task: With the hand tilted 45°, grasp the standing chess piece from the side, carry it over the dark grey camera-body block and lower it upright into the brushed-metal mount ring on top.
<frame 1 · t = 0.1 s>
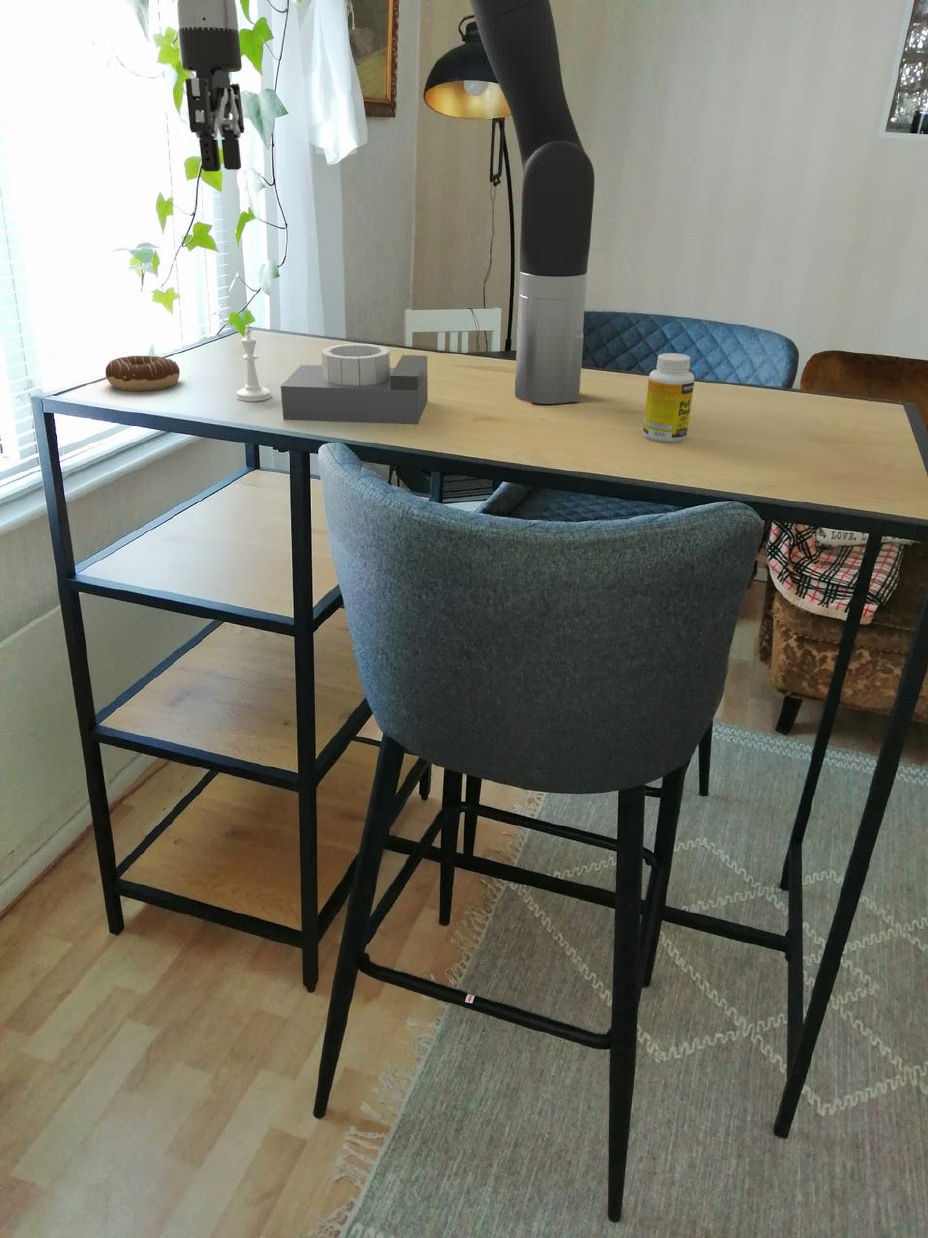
hand: (222, 170, 124), 29 cm above the table, tool pointing down, fingers open, 8 cm apart
camera body: (358, 409, 128), on the table
donut: (145, 386, 139), on the table
supplement bottle: (664, 438, 119), on the table
chess piece: (254, 398, 134), on the table
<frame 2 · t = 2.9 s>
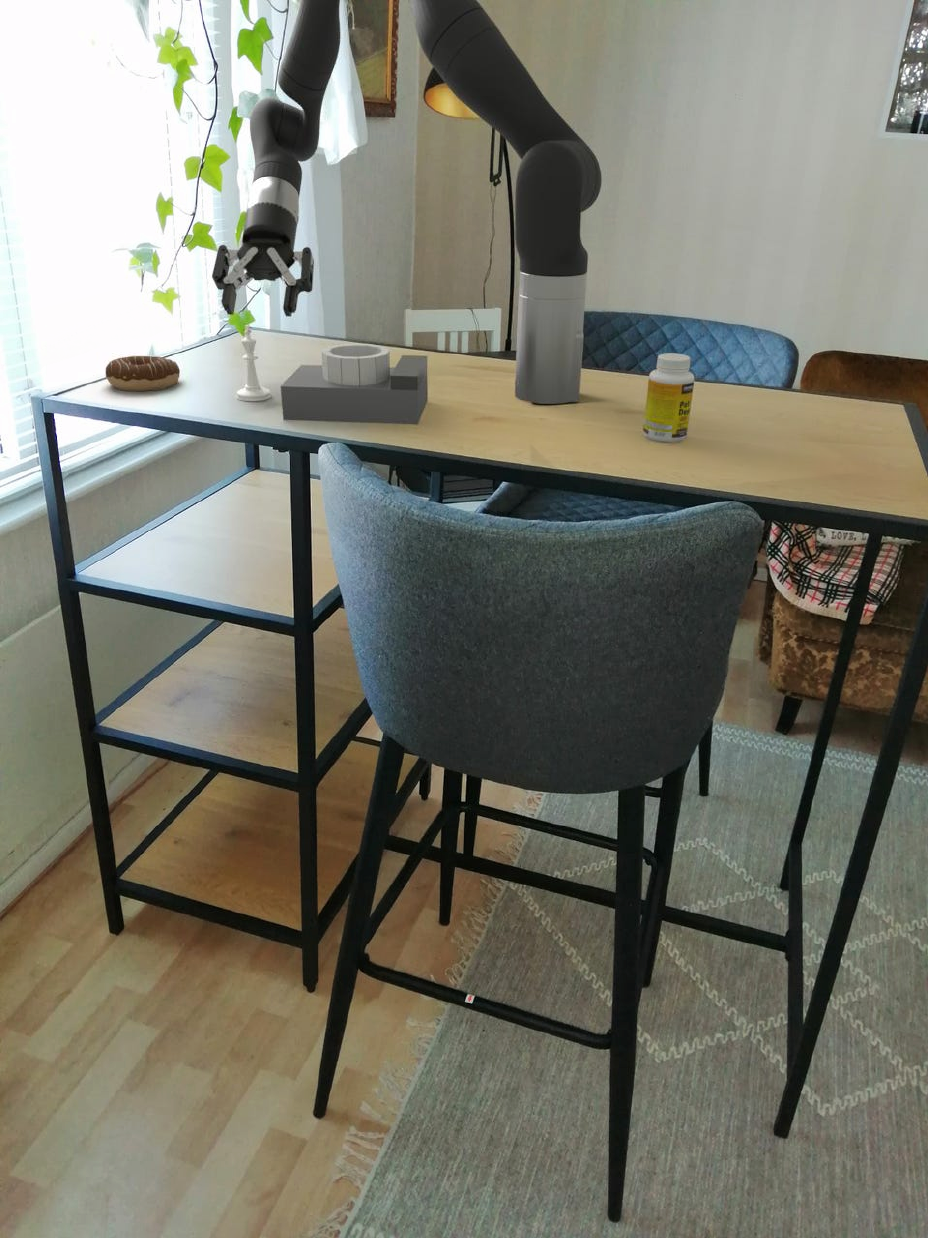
hand: (258, 312, 134), 11 cm above the table, tool tilted 45°, fingers open, 8 cm apart
nothing on the table moved.
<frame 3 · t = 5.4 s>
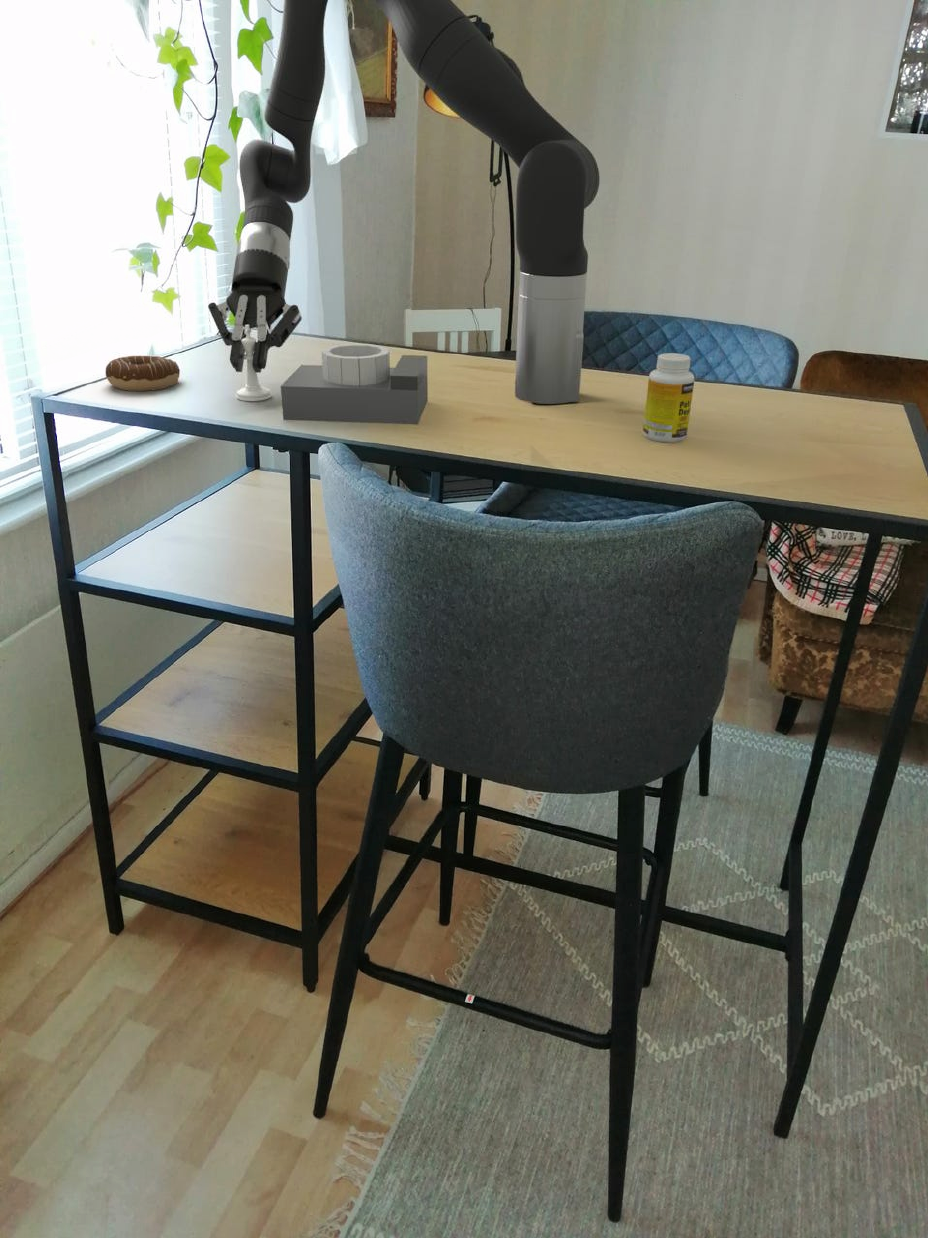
hand: (247, 368, 130), 4 cm above the table, tool tilted 45°, fingers closed on chess piece
chess piece: (254, 397, 134), on the table, touching gripper
everything else where it was.
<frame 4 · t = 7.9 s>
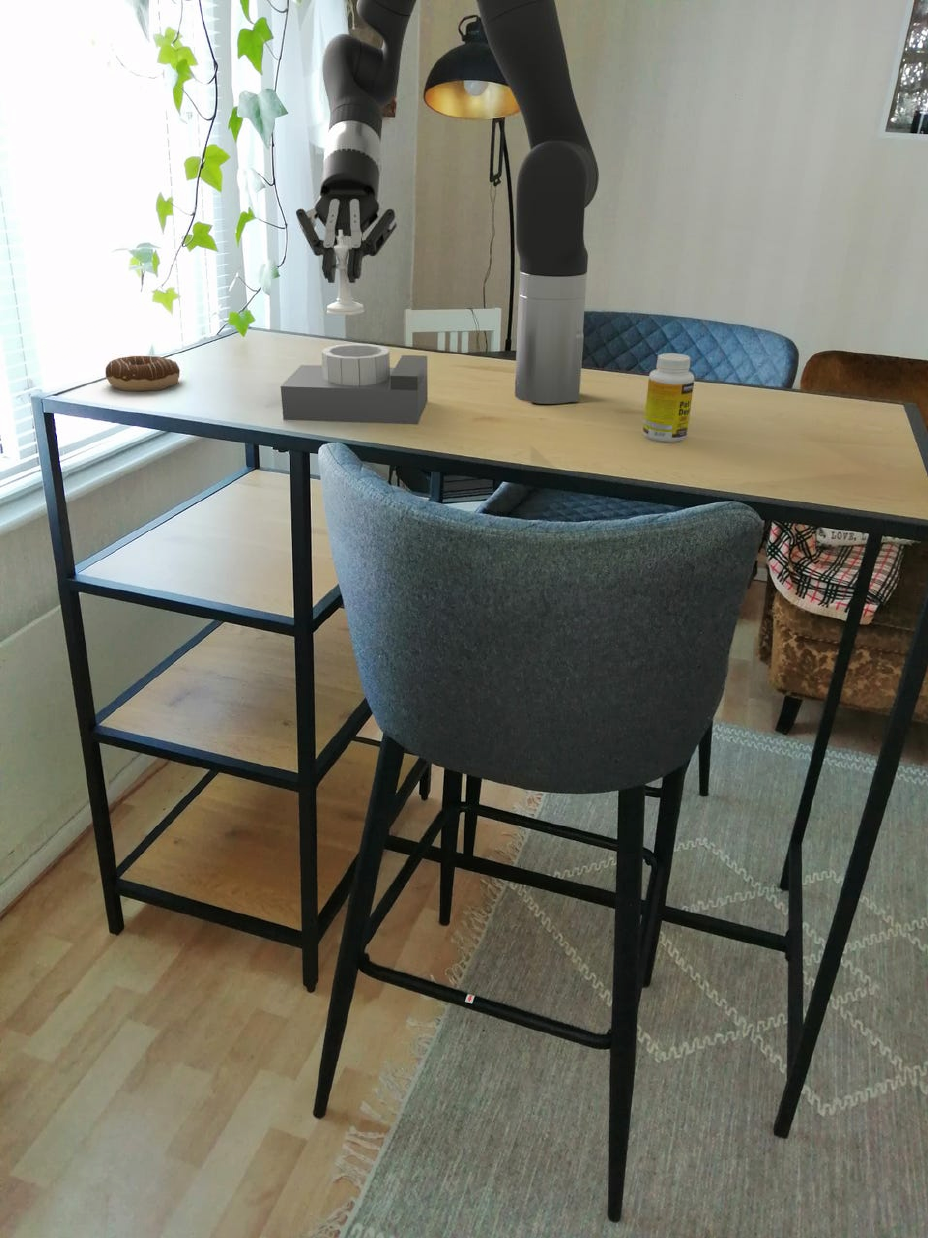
hand: (340, 278, 119), 17 cm above the table, tool tilted 45°, fingers closed on chess piece
chess piece: (345, 313, 123), point 13 cm above the table, touching gripper
everything else where it was.
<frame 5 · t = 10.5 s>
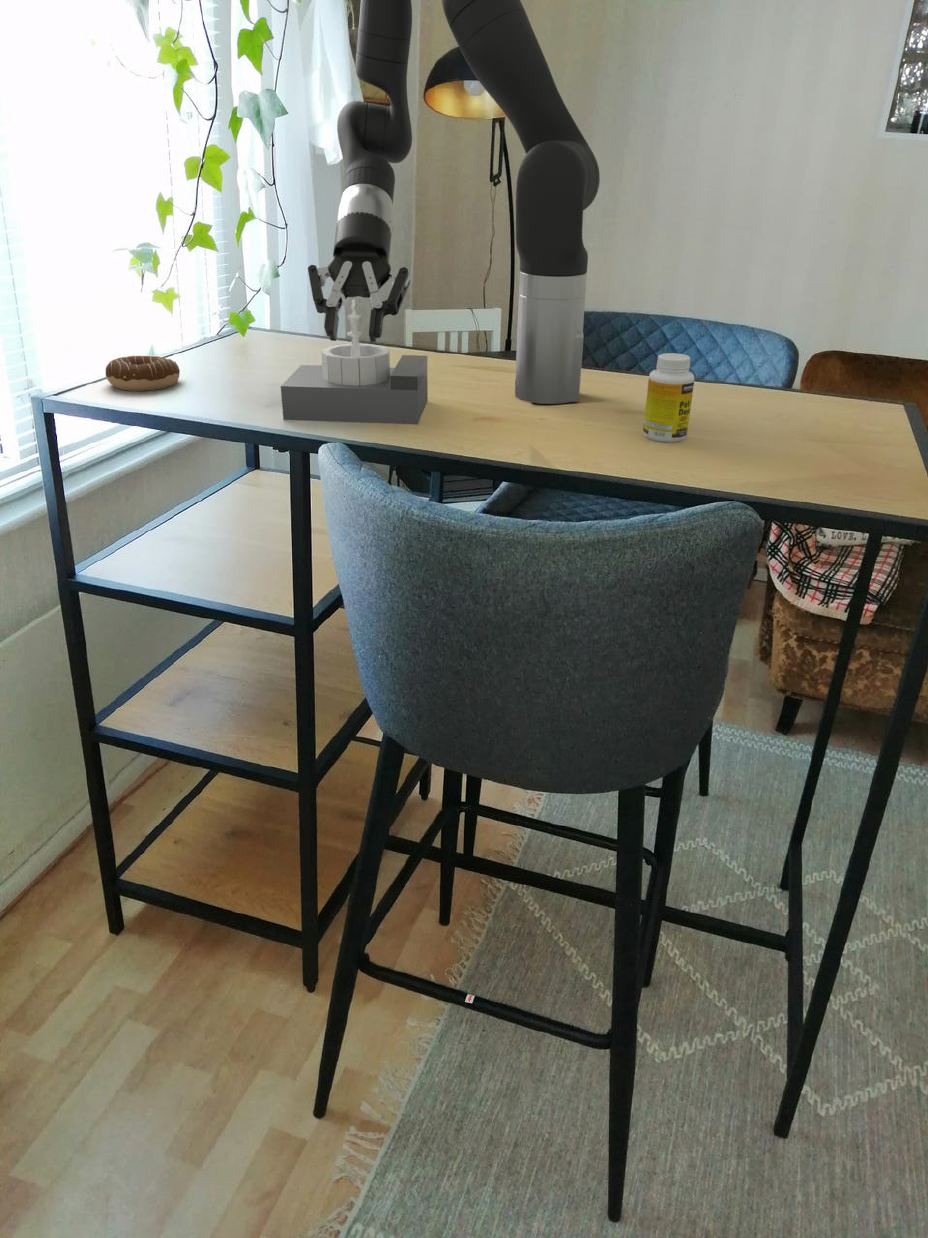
hand: (352, 337, 122), 10 cm above the table, tool tilted 45°, fingers open, 4 cm apart
chess piece: (356, 378, 126), point 4 cm above the table, touching camera body
everything else where it was.
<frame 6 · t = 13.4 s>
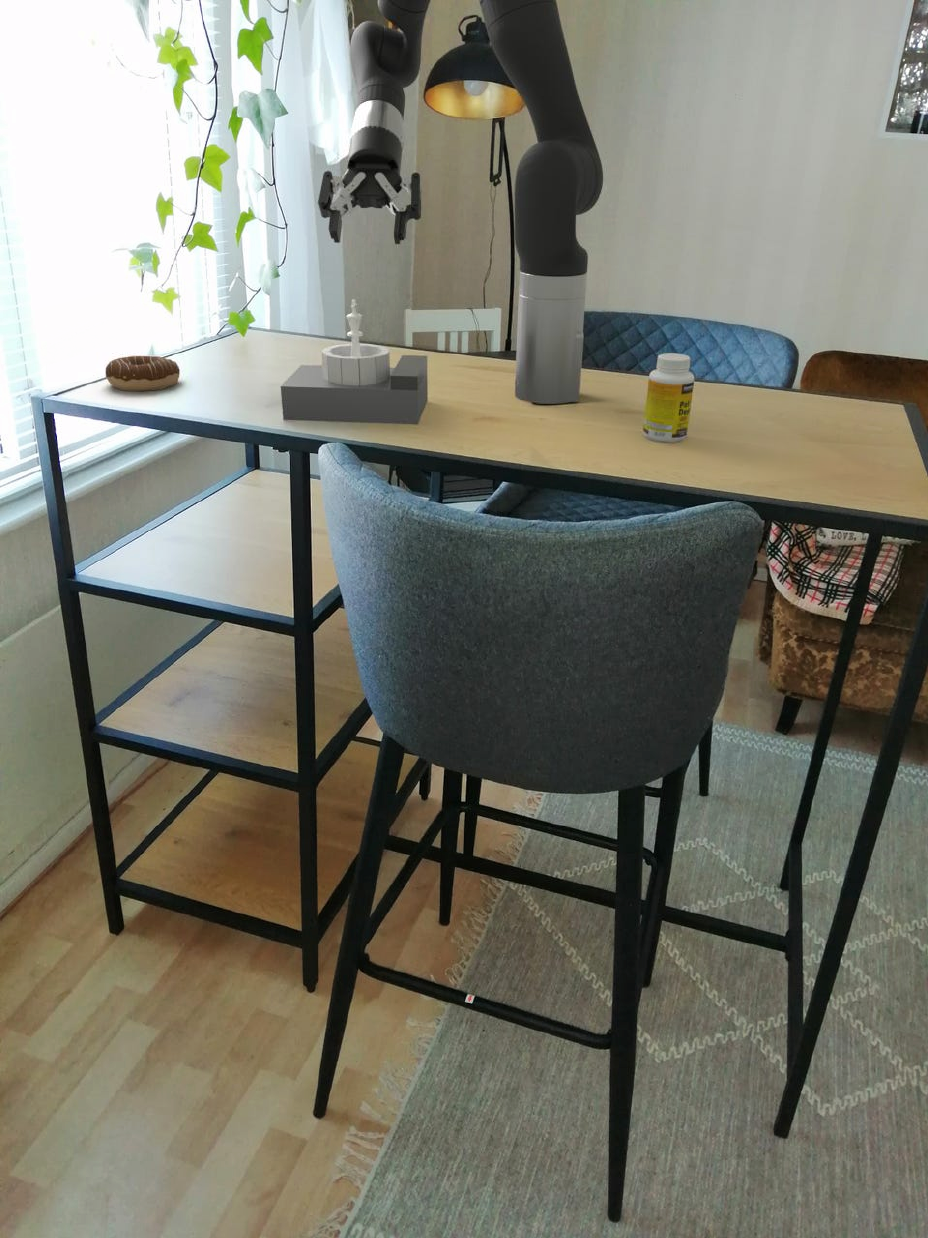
hand: (366, 239, 129), 21 cm above the table, tool tilted 45°, fingers open, 8 cm apart
nothing on the table moved.
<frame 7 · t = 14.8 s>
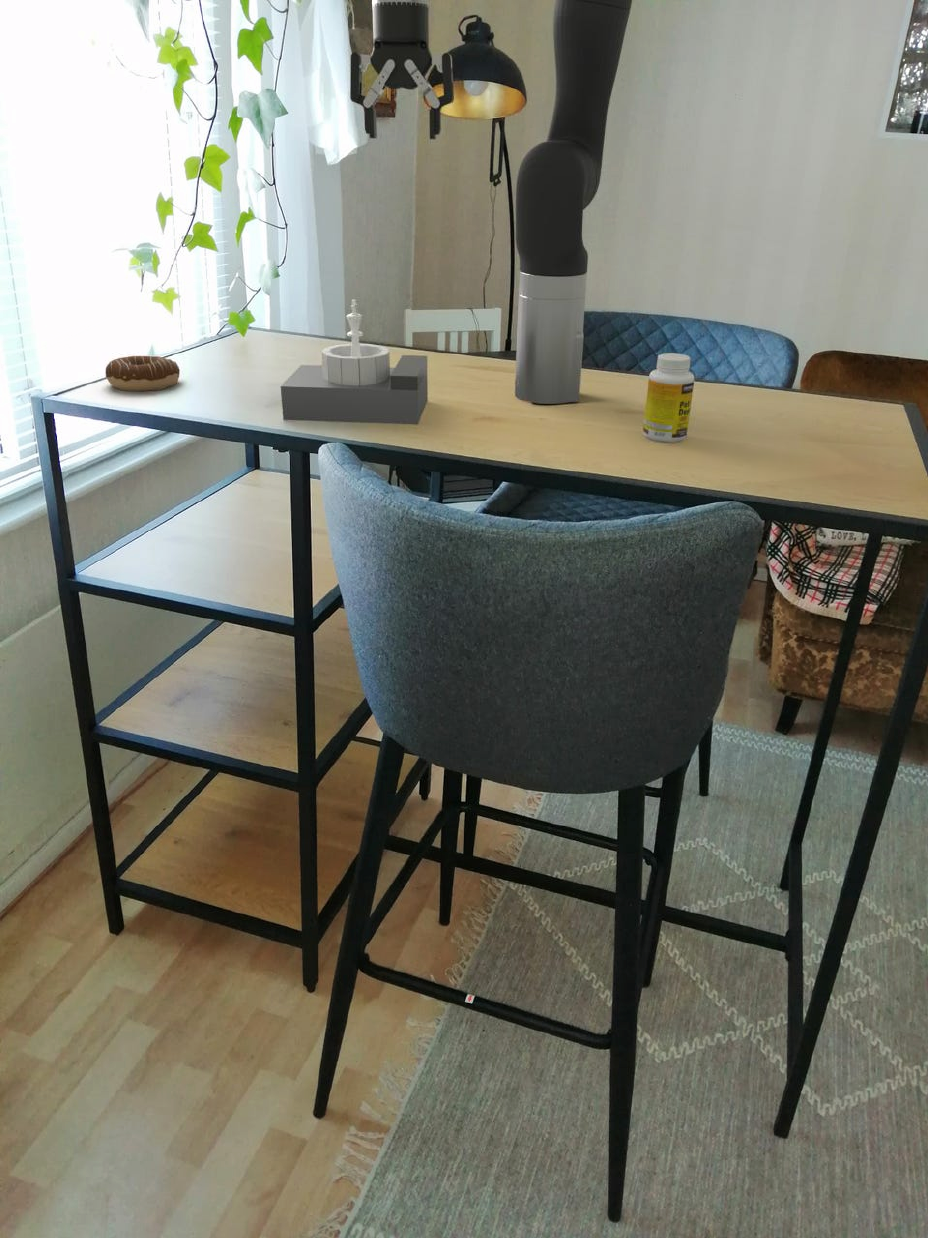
hand: (403, 138, 132), 33 cm above the table, tool pointing down, fingers open, 8 cm apart
nothing on the table moved.
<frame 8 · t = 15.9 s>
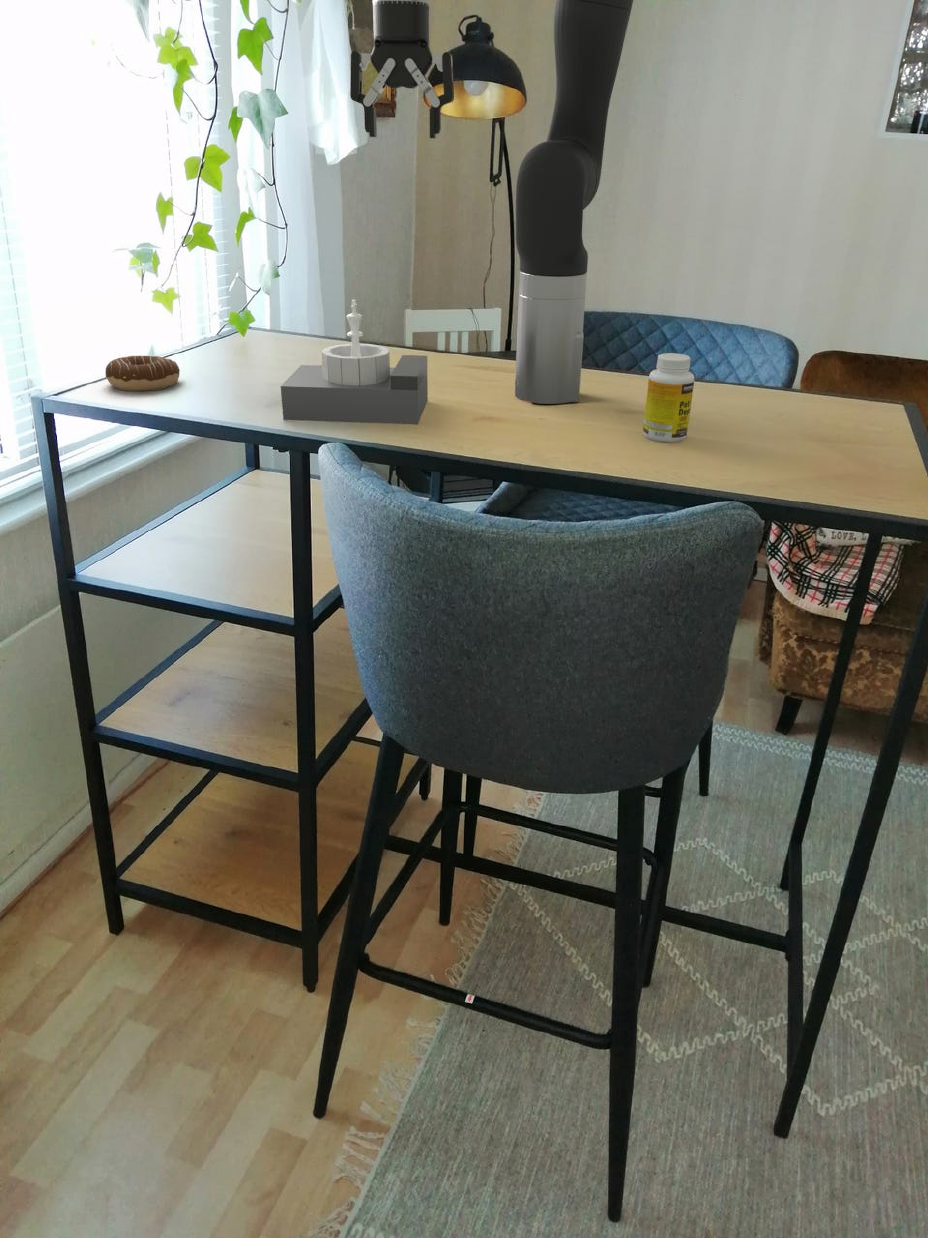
hand: (403, 137, 132), 33 cm above the table, tool pointing down, fingers open, 8 cm apart
nothing on the table moved.
at the end: chess piece 0.2 cm off-centre on the camera body, point 4.3 cm above the camera body's base; chess piece tilted 0°; the gripper is holding nothing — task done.
